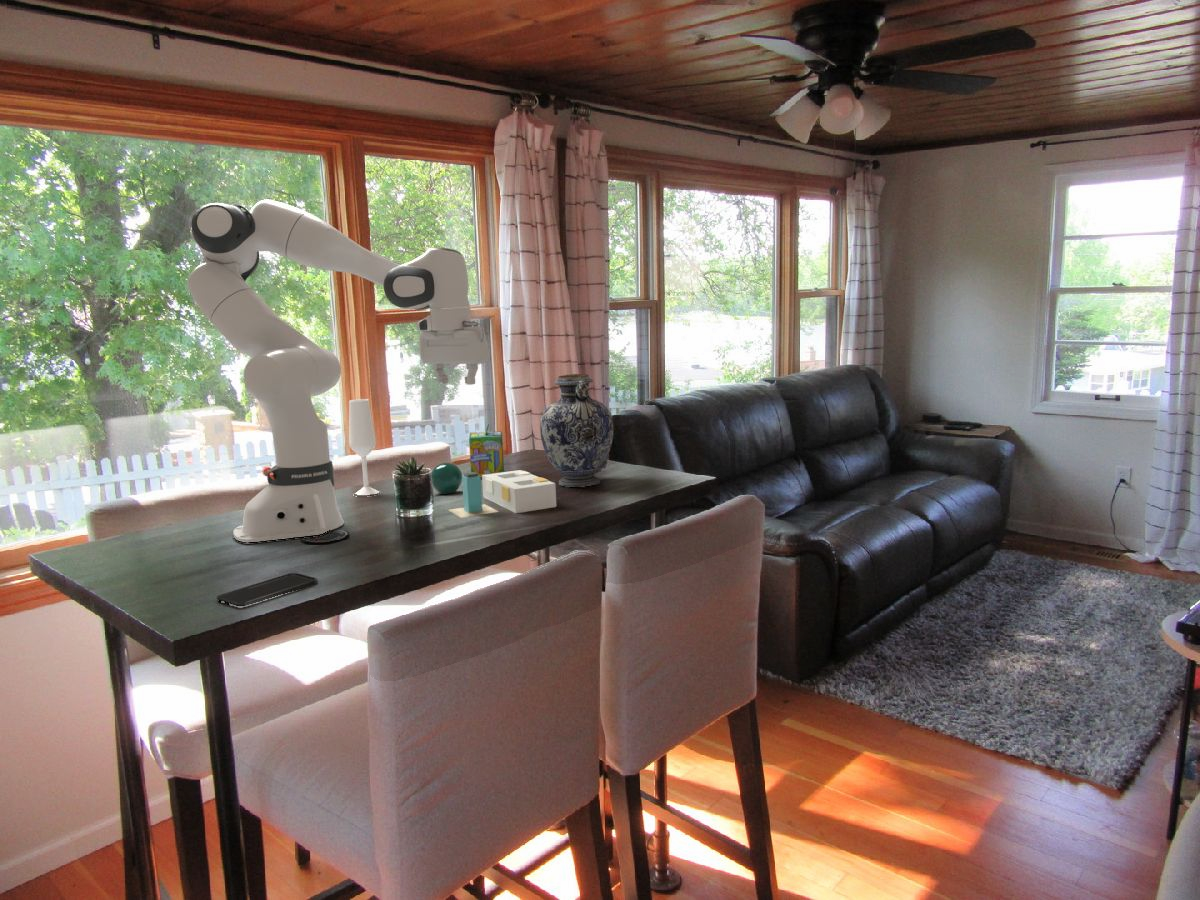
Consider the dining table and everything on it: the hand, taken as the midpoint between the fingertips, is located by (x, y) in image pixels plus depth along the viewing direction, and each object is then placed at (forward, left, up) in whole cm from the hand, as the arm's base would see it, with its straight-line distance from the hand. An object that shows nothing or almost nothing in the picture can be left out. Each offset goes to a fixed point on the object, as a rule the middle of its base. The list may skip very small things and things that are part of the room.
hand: (456, 384), depth 196 cm
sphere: (+2, +20, -29) cm, 35 cm away
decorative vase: (+34, +10, -29) cm, 46 cm away
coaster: (0, -4, -29) cm, 29 cm away
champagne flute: (-15, +33, -29) cm, 46 cm away
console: (+12, -2, -29) cm, 32 cm away
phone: (-48, -36, -30) cm, 67 cm away
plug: (0, -4, -29) cm, 29 cm away
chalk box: (+19, +36, -29) cm, 50 cm away
